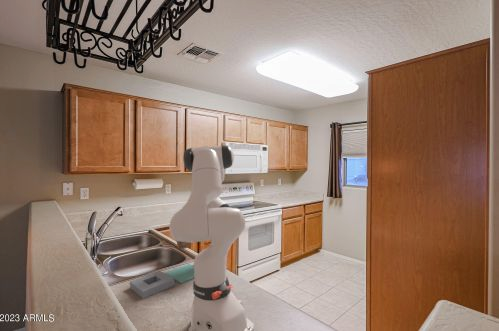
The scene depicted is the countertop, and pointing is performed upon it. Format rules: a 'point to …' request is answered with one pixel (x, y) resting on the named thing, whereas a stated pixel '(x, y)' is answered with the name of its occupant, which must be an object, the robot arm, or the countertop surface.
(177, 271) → the teal mat
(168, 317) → the countertop surface
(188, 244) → the walnut peg
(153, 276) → the socket block
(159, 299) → the countertop surface
